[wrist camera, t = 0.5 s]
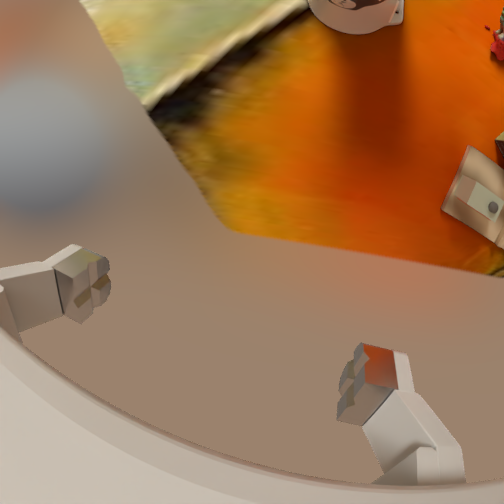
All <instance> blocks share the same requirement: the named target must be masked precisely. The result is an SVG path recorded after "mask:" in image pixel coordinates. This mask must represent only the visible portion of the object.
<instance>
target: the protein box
mask: <svg viewBox="0 0 504 504" xmlns="http://www.w3.org/2000/svg"><path fill="white" fill-rule="evenodd" d="M495 141H496V143H497V145H498V147H499V149H500V151H501V153H502V155H503V157H504V132H503V133H502V134H500V135H499V136H498V137H497V138H496V139H495Z"/></svg>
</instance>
